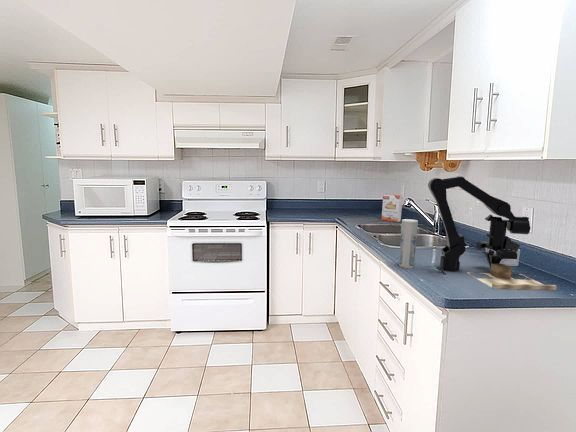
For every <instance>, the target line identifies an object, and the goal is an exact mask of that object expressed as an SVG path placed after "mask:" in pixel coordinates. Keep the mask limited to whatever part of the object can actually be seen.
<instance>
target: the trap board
mask: <svg viewBox="0 0 576 432" xmlns="http://www.w3.org/2000/svg"><path fill="white" fill-rule="evenodd" d="M467 274H468V275H469V276H471V277H473V278H475V279H476V280H478V281H479V282H481V283H483V284H485V285H486V286H488V287H490V288H491V289H494V290H527V291H528V290H533V291H557V287H558V286H557V285H556V284H544V283H541V282H539V281H538V280H535V279H533V278H531V277H529V276H526V275H524V274H523V273H520V275H521V276H523V277H525V278H527V279H519V278H517V279H515V278H513V277H512V276H511V279H499V278H496V277H494V276H492V275H490V272H480V275H481V274H482V275H483V274H484V275H487V276H488V277H490V278H477V277H476V276H474V275H472V273H470V272H467Z"/></svg>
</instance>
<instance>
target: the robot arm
mask: <svg viewBox="0 0 576 432" xmlns="http://www.w3.org/2000/svg"><path fill="white" fill-rule="evenodd" d="M427 187H428V189H429V191H430V193H431V195H432V196H433V199H434V200H435V202H436V206H437V208H438V210H439V214H440V217H441V220H442V224H443V227H444V230H445V231H444V232H445V235H446V236H445V237H446V238H445V240H446V245H445V246H444V247H443V248H441V249H440V251H441V255H440V261H439V268H437V270H438V271H439V272H441V273H442V274H445V275H446V274H447V273H446V272H458V271H460V265H461V261H460V257H461V256H463V254H464V253H465V252H466V250H467V249H466V247H467V244H466V241H465V237H464V235H463V234H461V233H458V232H457V228H456V225H455V222H454V218H453V215H452V212H451V210H450V205H449V203H448V200H447V199H448V198H447V197H448V196H447V189H454V188H460V189H461V190H463V191H464V192H465V193H467V194H469V195H470V196H471V197H473V198H474V199H476V200H478V201H479V202H481V203H482V204H483V205H484V206H485V207H486V208H487V209H488V210H489V211H490V212H491V213H492V214H494V215H496V216H493V215H492V214H489V215H488V216H486V217H485V218H484V220H485V221H487V222H490V223H489V233H486V237H488V241H477V242H476V243H475V245H476V246H475V248H476V249H478V250H482V249H485V251H483V254H484V256H485V258H486V260H487V263H488V265H489V268H490V269H491V263H494V264H499V263H500V261H501V260H502V259H517V257H518V254H517V253H516V252H517V251H518V249H520V247H521V244H520V243H517V242H514V241H512V239H511V238H510V237H509V236H508V235H507V231H509V233H510V234H512V235H513V234H515V235H529V234H530V231H531V224H530V220H529V219H530V217H529V216H515V215H514V213H513V212H512V208H511V204H510V203H508V202H507V201H504V200H502V199H501V198H497V197H495V196H492V195H490V194H489V193H487V192H486V191H485V190H483V189H482V188H480V187H478V186H477V185H475V184H474V183H472V182H470V181H469V180H467V179H466V178H465V177H464V176H460V175H459V176H457V175H456V176H455V177H449V178H448V177H447V178H440V177H439V178H438V177H434V178H432V179H430V180H429V182H428V183H427ZM503 218H505V219H503ZM504 249H505V250H504ZM508 249H510V250H508ZM497 250H498V251H497ZM513 250H514V251H513ZM445 271H446V272H445Z"/></svg>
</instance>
